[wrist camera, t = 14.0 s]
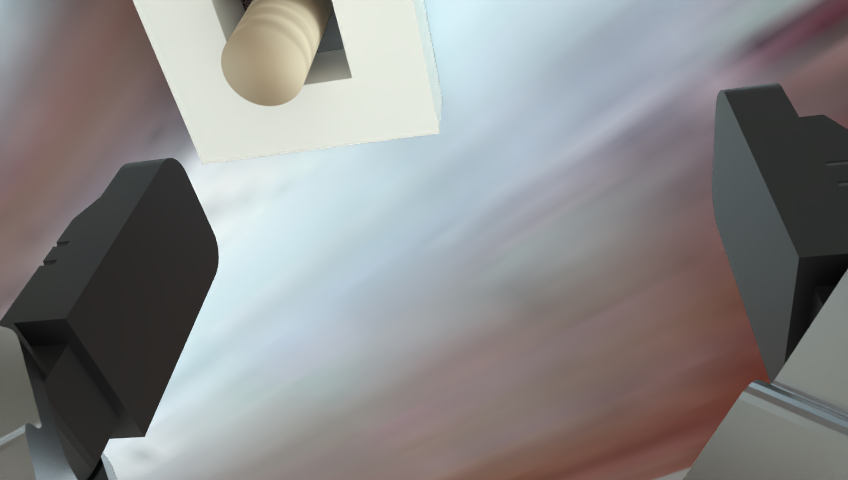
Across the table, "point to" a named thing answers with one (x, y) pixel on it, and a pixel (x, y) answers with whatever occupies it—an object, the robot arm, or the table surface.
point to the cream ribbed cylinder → (274, 49)
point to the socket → (323, 88)
